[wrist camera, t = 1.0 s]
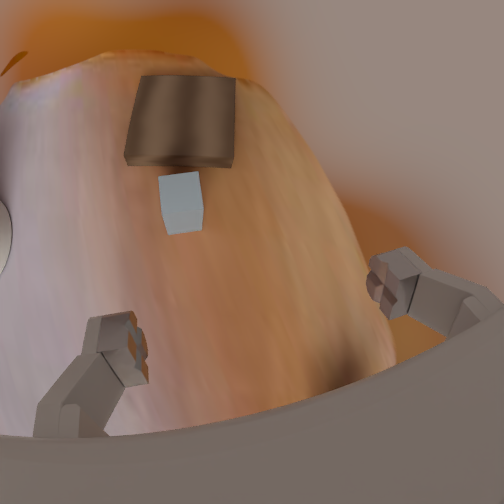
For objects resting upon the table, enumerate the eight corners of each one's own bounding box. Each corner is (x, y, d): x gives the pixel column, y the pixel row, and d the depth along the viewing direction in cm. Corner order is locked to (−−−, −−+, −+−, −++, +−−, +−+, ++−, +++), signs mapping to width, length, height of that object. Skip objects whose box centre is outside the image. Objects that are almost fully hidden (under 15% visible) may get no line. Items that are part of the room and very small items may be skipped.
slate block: (168, 234, 37) (161, 214, 30) (164, 203, 38) (158, 176, 30) (201, 230, 38) (203, 208, 31) (197, 198, 39) (198, 171, 31)
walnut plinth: (127, 165, 38) (123, 155, 35) (143, 88, 41) (141, 75, 38) (231, 168, 41) (233, 157, 38) (232, 90, 43) (235, 78, 41)
